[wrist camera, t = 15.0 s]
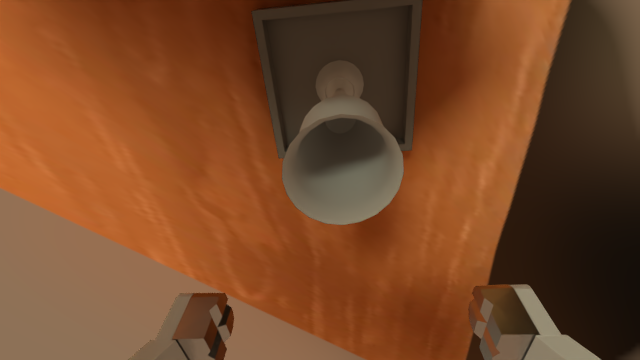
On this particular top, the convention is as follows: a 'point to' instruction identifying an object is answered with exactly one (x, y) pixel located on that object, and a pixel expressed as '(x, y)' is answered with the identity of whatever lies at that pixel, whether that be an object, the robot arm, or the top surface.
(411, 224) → the top surface
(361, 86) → the chalice
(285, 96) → the tray
